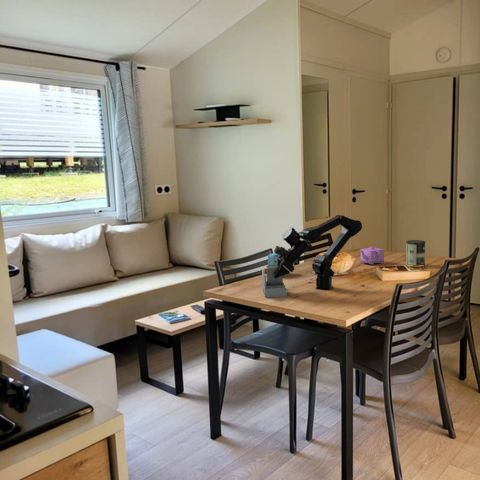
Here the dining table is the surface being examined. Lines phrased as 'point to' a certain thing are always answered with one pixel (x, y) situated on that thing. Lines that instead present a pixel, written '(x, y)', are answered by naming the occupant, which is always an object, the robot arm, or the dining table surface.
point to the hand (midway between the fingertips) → (273, 275)
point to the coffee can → (415, 252)
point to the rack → (272, 288)
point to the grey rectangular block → (270, 276)
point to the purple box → (372, 255)
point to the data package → (273, 259)
